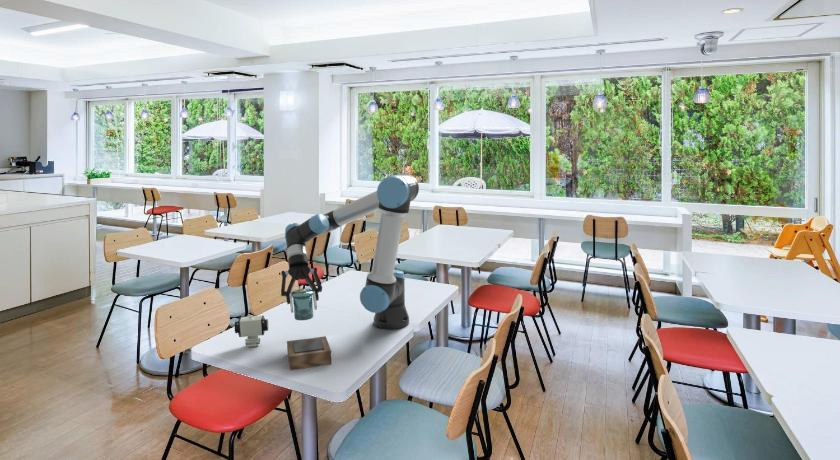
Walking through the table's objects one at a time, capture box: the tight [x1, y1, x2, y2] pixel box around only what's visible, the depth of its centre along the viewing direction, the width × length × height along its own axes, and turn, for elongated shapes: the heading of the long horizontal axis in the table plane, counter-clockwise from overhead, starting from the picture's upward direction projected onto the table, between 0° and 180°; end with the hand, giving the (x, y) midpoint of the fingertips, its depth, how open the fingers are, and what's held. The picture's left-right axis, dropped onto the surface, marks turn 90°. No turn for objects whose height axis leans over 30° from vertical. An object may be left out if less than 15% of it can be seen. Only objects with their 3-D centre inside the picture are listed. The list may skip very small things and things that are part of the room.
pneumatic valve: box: [234, 314, 269, 348], centre depth 189 cm, size 6×12×12 cm, turn 101°
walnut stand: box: [286, 335, 333, 371], centre depth 176 cm, size 14×14×5 cm
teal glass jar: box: [290, 288, 314, 321], centre depth 188 cm, size 8×8×11 cm
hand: (304, 309), depth 185 cm, fingers closed on teal glass jar, 8 cm apart
